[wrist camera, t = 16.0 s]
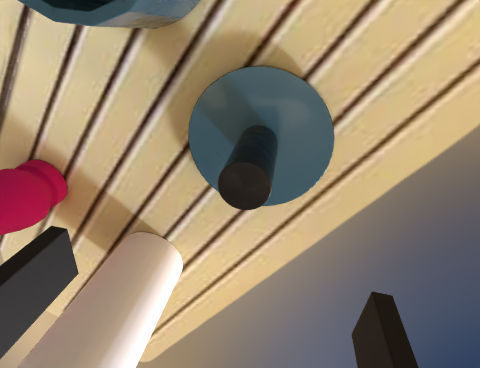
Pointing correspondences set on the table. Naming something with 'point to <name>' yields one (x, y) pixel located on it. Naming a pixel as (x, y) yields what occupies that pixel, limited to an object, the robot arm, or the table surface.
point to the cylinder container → (113, 309)
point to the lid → (261, 136)
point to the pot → (114, 12)
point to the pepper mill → (28, 194)
